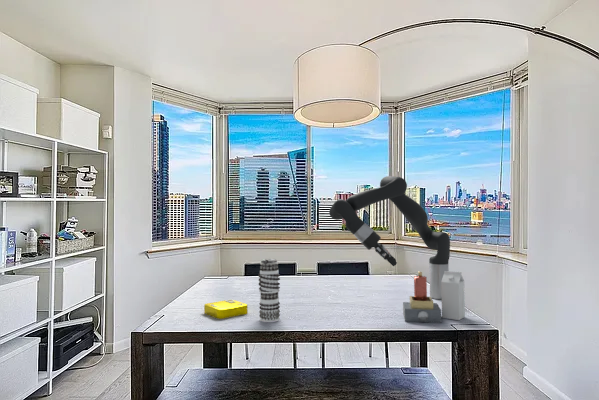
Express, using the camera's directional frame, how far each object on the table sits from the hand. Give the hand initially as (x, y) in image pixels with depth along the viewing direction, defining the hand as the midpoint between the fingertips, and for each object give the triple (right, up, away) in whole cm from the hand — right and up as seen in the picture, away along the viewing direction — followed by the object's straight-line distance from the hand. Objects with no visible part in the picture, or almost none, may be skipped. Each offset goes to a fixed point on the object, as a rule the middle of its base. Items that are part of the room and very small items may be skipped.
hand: (395, 263), depth 172 cm
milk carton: (+24, -22, -3) cm, 33 cm away
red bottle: (+10, -17, -3) cm, 20 cm away
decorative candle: (-53, -23, -2) cm, 58 cm away
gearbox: (+10, -22, -3) cm, 25 cm away
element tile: (-73, -24, +9) cm, 78 cm away
